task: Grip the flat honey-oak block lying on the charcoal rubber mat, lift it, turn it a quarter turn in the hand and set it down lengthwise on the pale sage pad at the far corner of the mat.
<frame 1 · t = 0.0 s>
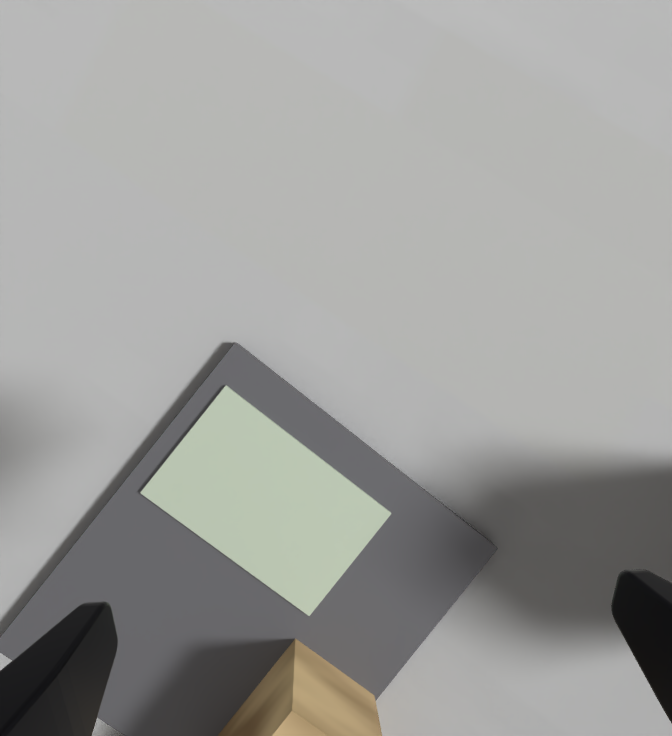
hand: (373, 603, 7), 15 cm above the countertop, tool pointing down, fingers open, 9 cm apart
mat: (254, 589, 23), on the countertop
oak block: (283, 731, 23), point 1 cm above the countertop, touching mat
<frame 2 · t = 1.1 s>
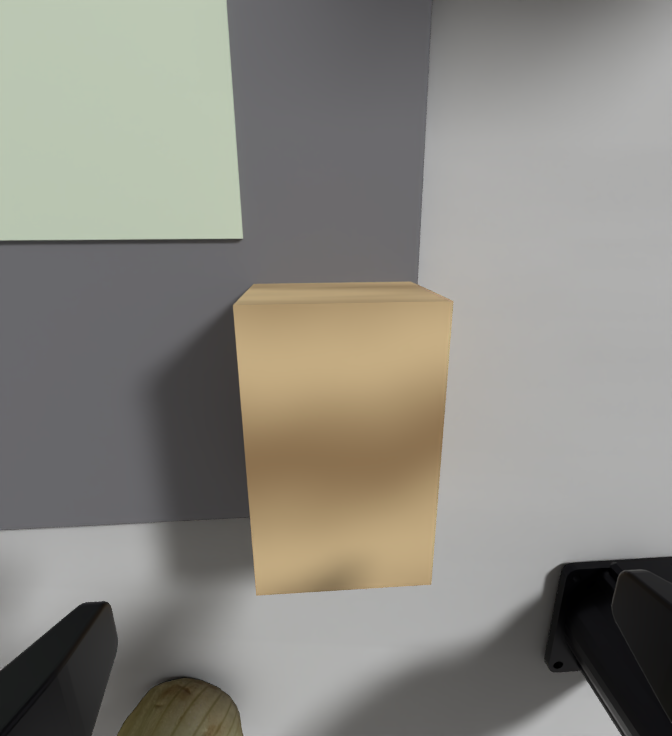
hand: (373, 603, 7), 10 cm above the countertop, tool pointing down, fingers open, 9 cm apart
fennel bulb: (197, 693, 21), on the countertop
mat: (160, 268, 15), on the countertop
oak block: (334, 402, 16), point 1 cm above the countertop, touching mat
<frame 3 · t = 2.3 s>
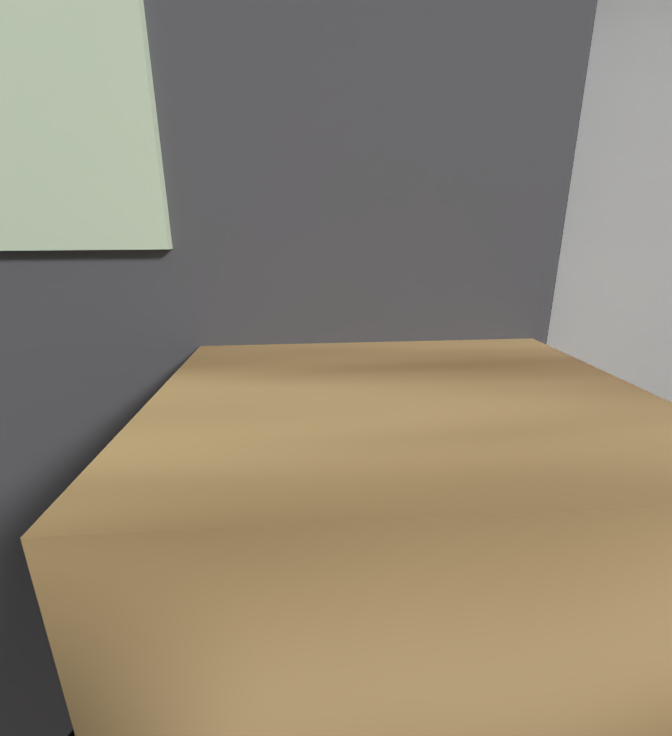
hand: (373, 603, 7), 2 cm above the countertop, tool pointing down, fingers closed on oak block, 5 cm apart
mat: (5, 312, 7), on the countertop
oak block: (366, 564, 8), point 1 cm above the countertop, touching gripper, mat
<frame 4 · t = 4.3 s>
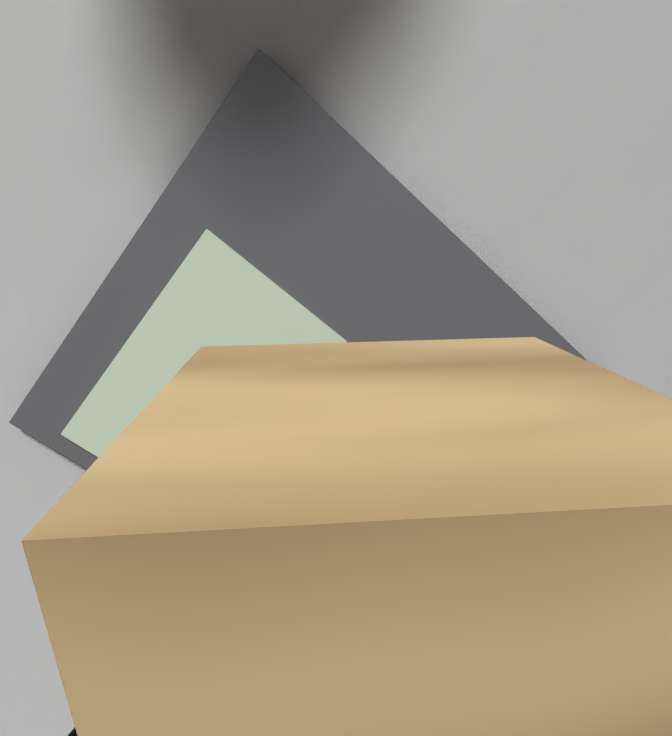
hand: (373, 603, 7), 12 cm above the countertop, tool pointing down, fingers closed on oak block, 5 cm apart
mat: (319, 400, 19), on the countertop
oak block: (368, 564, 8), point 11 cm above the countertop, touching gripper
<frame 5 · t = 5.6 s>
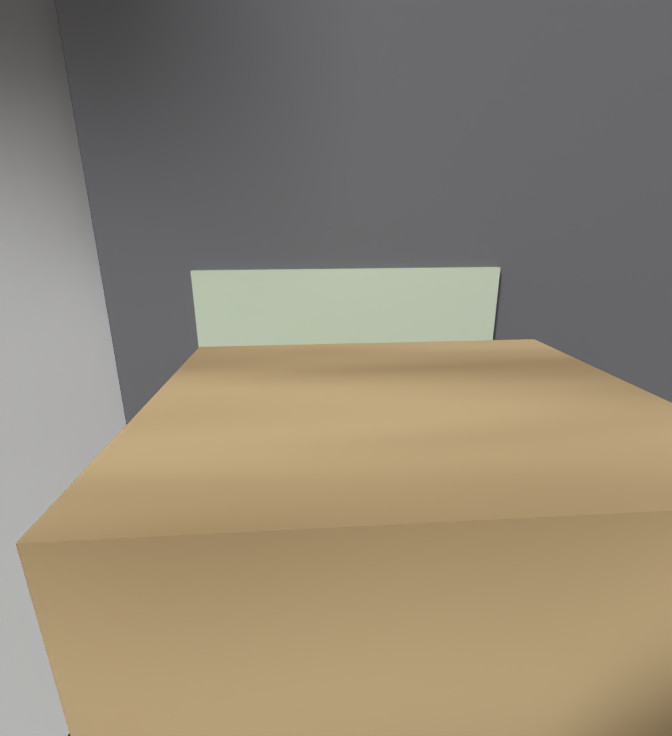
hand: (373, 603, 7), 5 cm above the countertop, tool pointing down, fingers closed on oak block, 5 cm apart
mat: (511, 378, 11), on the countertop
oak block: (366, 566, 8), point 4 cm above the countertop, touching gripper
when the fingers open (3 cm above the countertop, at t = 6.3 s): oak block drops 1 cm, resting on mat.
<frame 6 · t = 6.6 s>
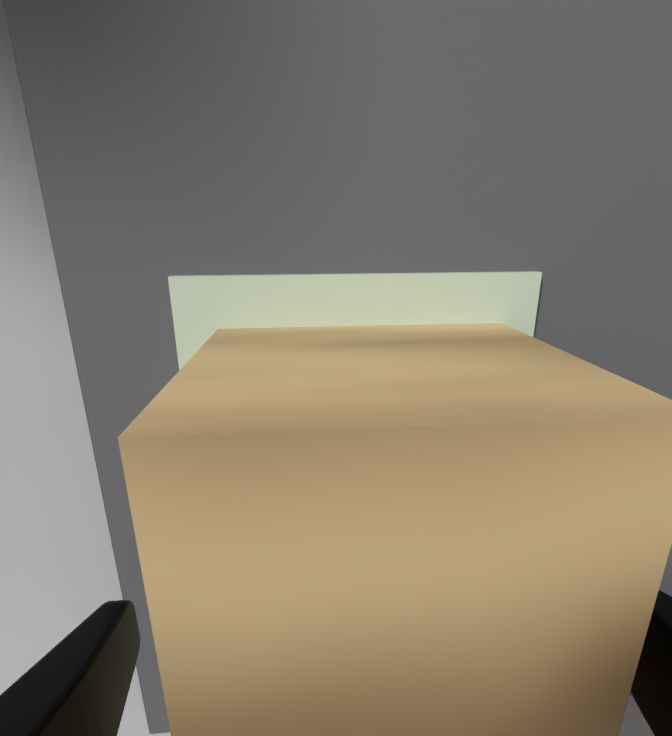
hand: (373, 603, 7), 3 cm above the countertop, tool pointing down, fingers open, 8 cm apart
mat: (547, 400, 10), on the countertop
oak block: (360, 522, 10), point 1 cm above the countertop, touching mat
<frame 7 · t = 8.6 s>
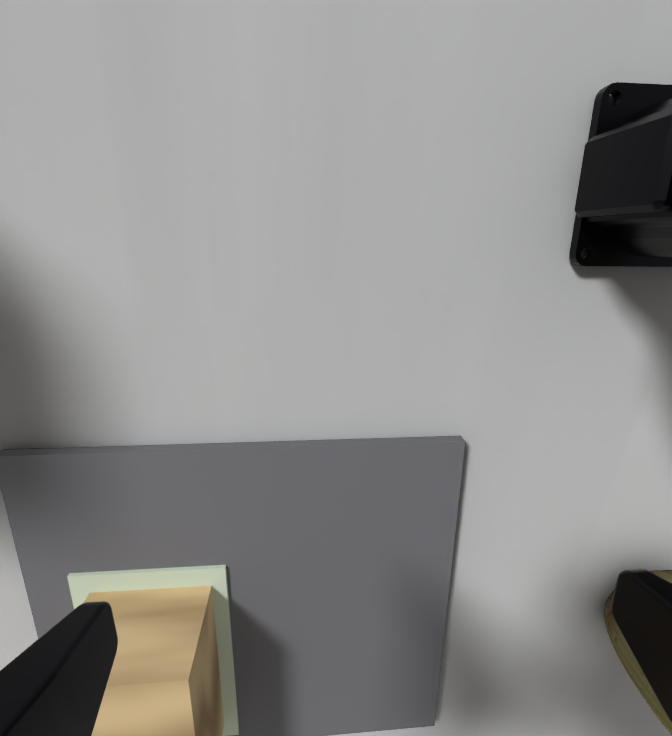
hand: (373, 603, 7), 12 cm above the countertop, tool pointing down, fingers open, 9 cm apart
fennel bulb: (631, 589, 24), on the countertop
mat: (251, 603, 21), on the countertop
oak block: (161, 662, 21), point 1 cm above the countertop, touching mat
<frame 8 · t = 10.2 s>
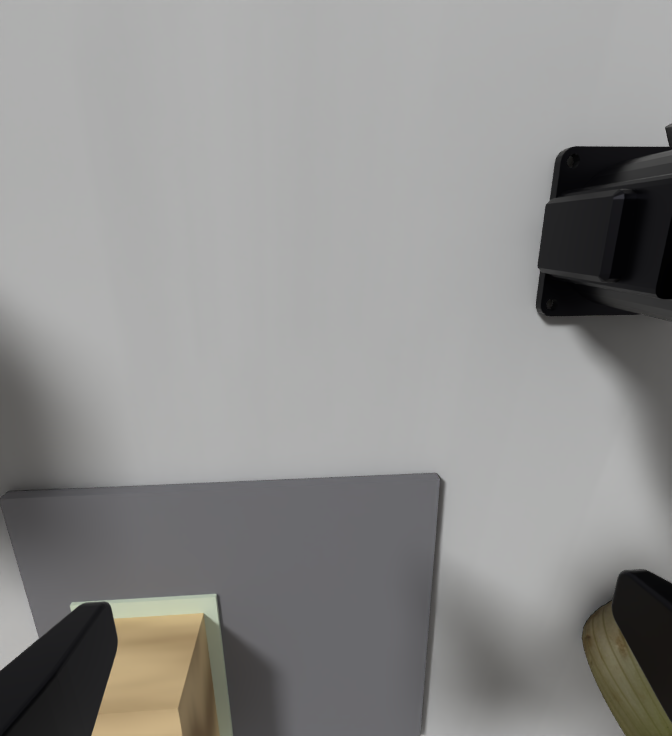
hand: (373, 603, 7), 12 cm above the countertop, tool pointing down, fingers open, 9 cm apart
fennel bulb: (609, 613, 25), on the countertop
mat: (242, 627, 23), on the countertop
oak block: (159, 682, 23), point 1 cm above the countertop, touching mat
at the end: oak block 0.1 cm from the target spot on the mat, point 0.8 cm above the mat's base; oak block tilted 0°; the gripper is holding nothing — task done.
